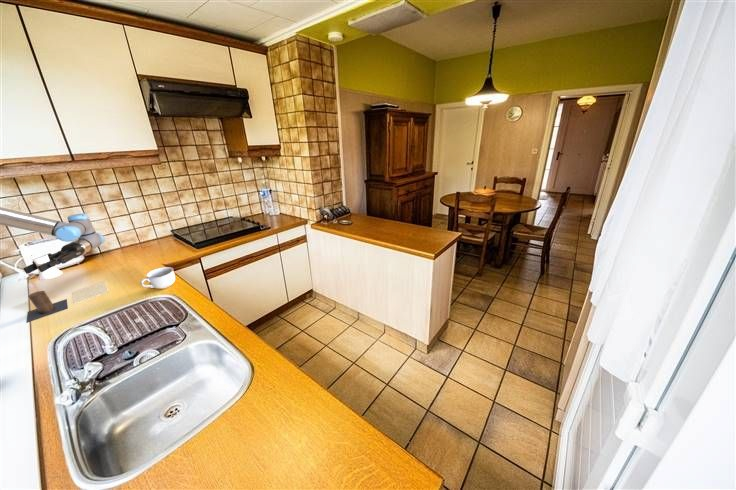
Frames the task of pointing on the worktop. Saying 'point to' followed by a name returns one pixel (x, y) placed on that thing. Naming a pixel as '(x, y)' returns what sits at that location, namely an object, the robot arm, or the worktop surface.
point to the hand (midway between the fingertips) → (33, 270)
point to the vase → (49, 272)
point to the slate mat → (36, 315)
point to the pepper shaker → (41, 302)
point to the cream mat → (89, 292)
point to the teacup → (160, 278)
